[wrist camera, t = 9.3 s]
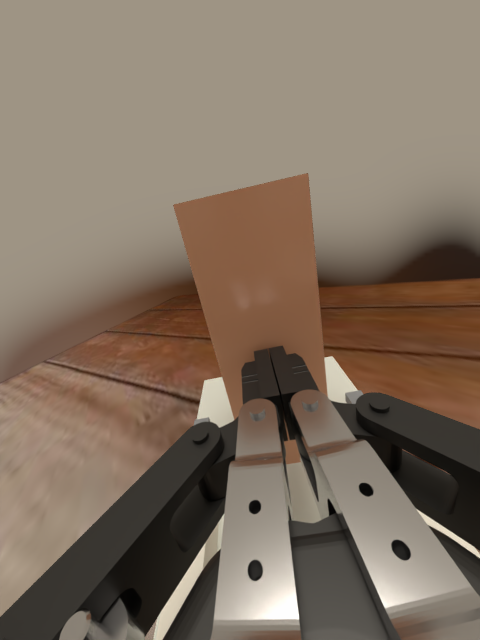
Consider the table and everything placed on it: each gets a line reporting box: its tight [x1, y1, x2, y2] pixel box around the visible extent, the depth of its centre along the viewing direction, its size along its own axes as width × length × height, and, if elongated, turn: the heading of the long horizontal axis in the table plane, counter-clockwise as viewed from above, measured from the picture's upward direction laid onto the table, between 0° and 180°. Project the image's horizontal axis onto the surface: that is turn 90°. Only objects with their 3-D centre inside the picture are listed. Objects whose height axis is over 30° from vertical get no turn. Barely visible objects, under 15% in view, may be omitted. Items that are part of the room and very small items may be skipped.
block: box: [173, 173, 328, 464], centre depth 15 cm, size 6×6×16 cm
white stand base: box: [153, 356, 480, 640], centre depth 16 cm, size 14×21×4 cm, turn 1°
